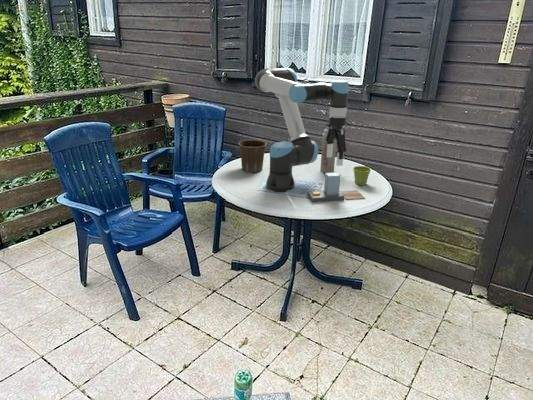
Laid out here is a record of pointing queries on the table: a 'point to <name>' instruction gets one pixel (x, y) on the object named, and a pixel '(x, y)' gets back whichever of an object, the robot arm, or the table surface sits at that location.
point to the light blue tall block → (332, 184)
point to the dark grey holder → (323, 196)
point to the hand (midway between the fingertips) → (334, 161)
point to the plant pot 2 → (361, 174)
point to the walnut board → (352, 195)
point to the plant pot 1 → (252, 155)
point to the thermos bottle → (326, 162)
